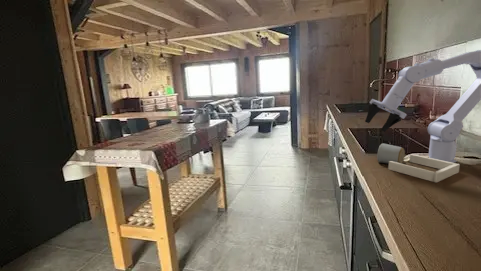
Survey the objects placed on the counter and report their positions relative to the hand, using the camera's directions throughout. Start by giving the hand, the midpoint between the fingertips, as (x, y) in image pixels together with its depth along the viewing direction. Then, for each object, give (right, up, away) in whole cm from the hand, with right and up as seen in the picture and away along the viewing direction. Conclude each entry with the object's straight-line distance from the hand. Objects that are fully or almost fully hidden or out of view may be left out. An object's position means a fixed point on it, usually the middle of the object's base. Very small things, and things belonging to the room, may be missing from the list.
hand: (374, 126), depth 103 cm
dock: (+13, -16, -8) cm, 22 cm away
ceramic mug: (+7, -15, +2) cm, 16 cm away
